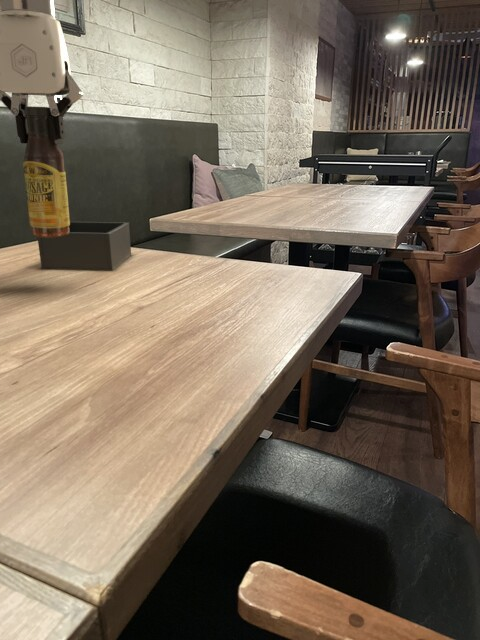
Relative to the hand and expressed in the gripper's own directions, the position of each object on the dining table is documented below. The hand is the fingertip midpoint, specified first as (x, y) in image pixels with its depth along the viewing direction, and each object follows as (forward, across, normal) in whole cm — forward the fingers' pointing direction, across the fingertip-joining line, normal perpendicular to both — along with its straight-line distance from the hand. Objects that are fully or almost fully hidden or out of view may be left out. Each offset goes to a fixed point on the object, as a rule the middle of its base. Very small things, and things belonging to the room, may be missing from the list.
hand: (42, 142), depth 77 cm
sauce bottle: (+15, 0, 0) cm, 15 cm away
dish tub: (+25, -2, +20) cm, 32 cm away
